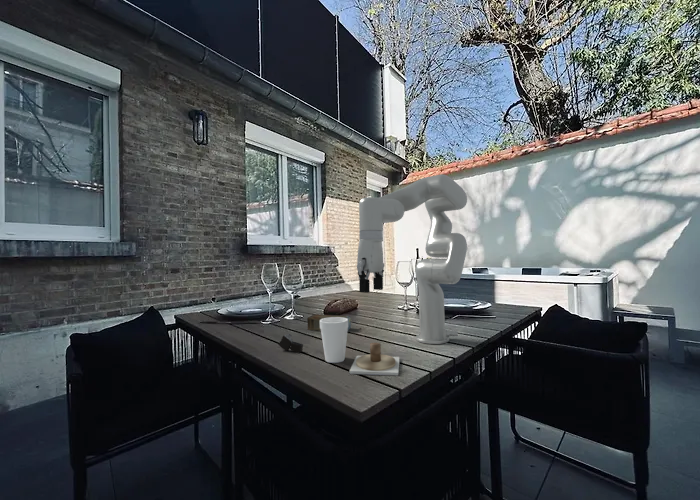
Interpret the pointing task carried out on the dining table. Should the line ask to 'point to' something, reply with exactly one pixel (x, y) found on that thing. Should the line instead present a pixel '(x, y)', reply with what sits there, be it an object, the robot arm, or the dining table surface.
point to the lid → (375, 359)
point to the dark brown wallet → (290, 344)
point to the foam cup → (334, 338)
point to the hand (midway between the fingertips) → (371, 290)
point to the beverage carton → (315, 319)
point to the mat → (391, 371)
